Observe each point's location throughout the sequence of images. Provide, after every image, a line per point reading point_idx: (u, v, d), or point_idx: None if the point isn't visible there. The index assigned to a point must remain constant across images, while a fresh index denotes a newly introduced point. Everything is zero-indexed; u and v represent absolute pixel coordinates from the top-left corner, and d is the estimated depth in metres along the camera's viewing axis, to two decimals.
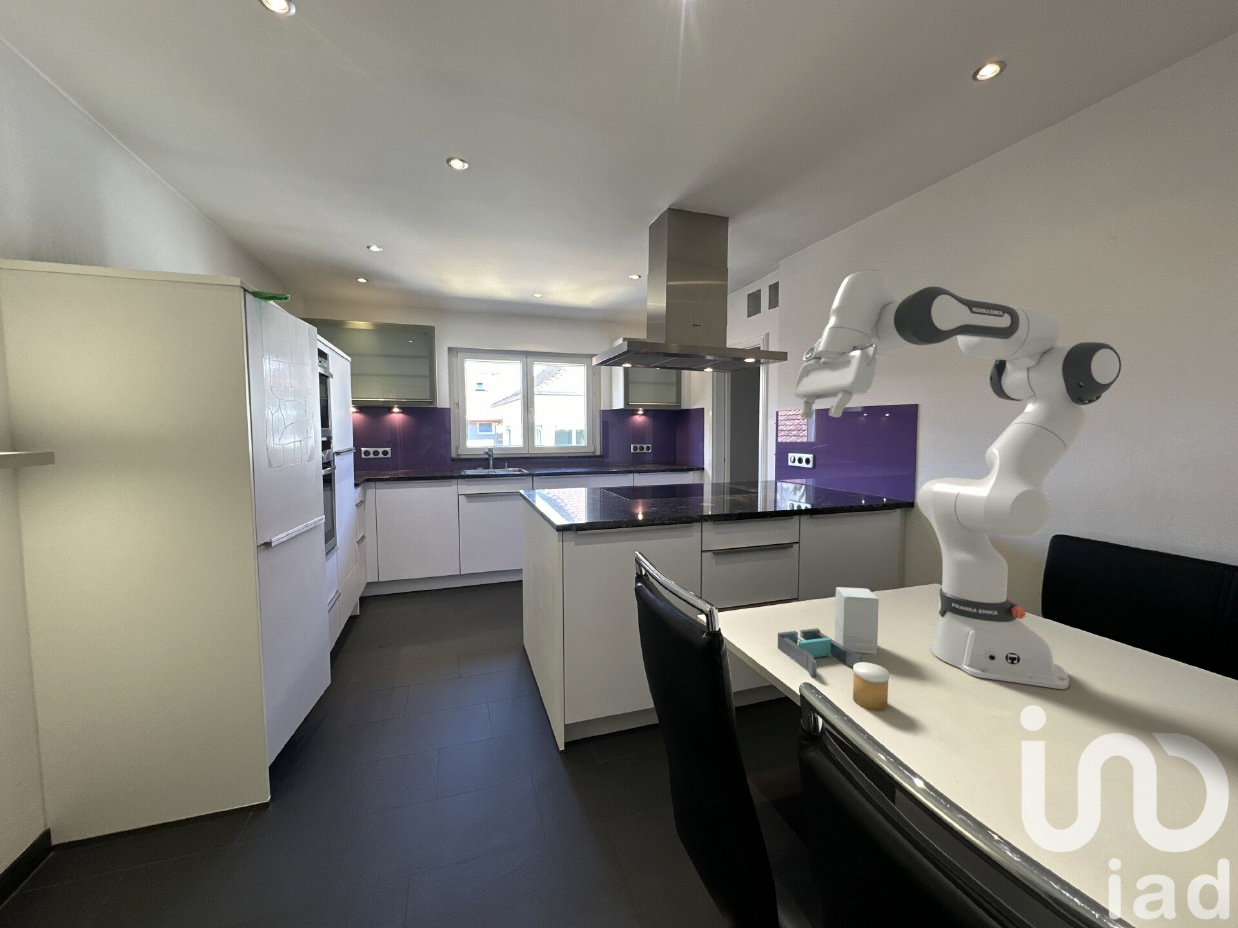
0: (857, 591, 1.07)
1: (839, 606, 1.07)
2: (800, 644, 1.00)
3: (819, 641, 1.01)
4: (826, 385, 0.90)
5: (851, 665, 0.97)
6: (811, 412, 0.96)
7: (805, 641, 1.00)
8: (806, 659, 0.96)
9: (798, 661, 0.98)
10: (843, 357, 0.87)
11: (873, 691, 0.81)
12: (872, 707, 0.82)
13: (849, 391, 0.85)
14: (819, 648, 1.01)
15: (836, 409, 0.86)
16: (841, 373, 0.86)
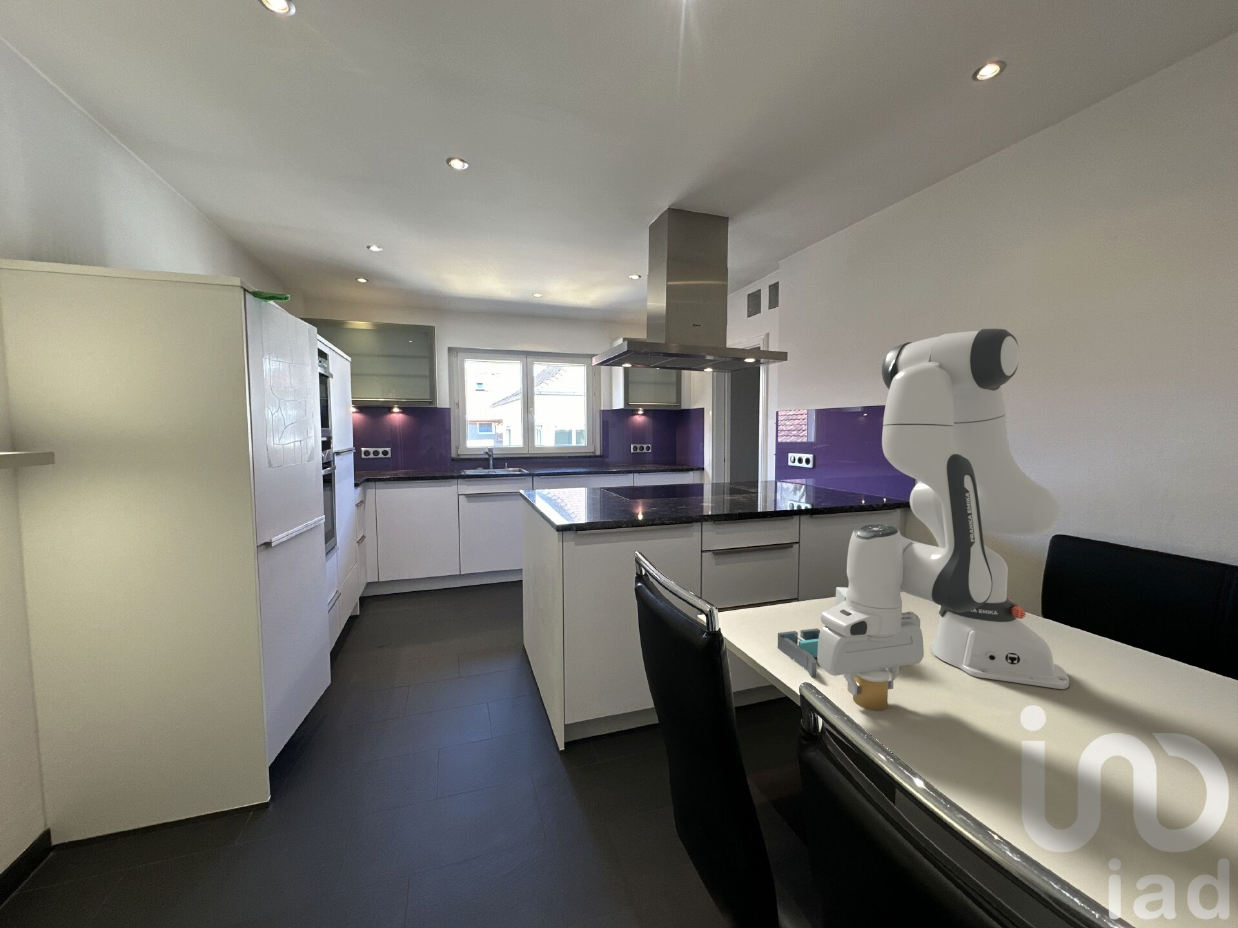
0: None
1: None
2: (800, 644, 1.00)
3: None
4: (887, 662, 0.82)
5: None
6: None
7: (805, 641, 1.00)
8: (806, 659, 0.96)
9: (798, 661, 0.98)
10: (900, 632, 0.83)
11: (873, 691, 0.81)
12: (872, 707, 0.82)
13: None
14: None
15: None
16: (904, 650, 0.83)
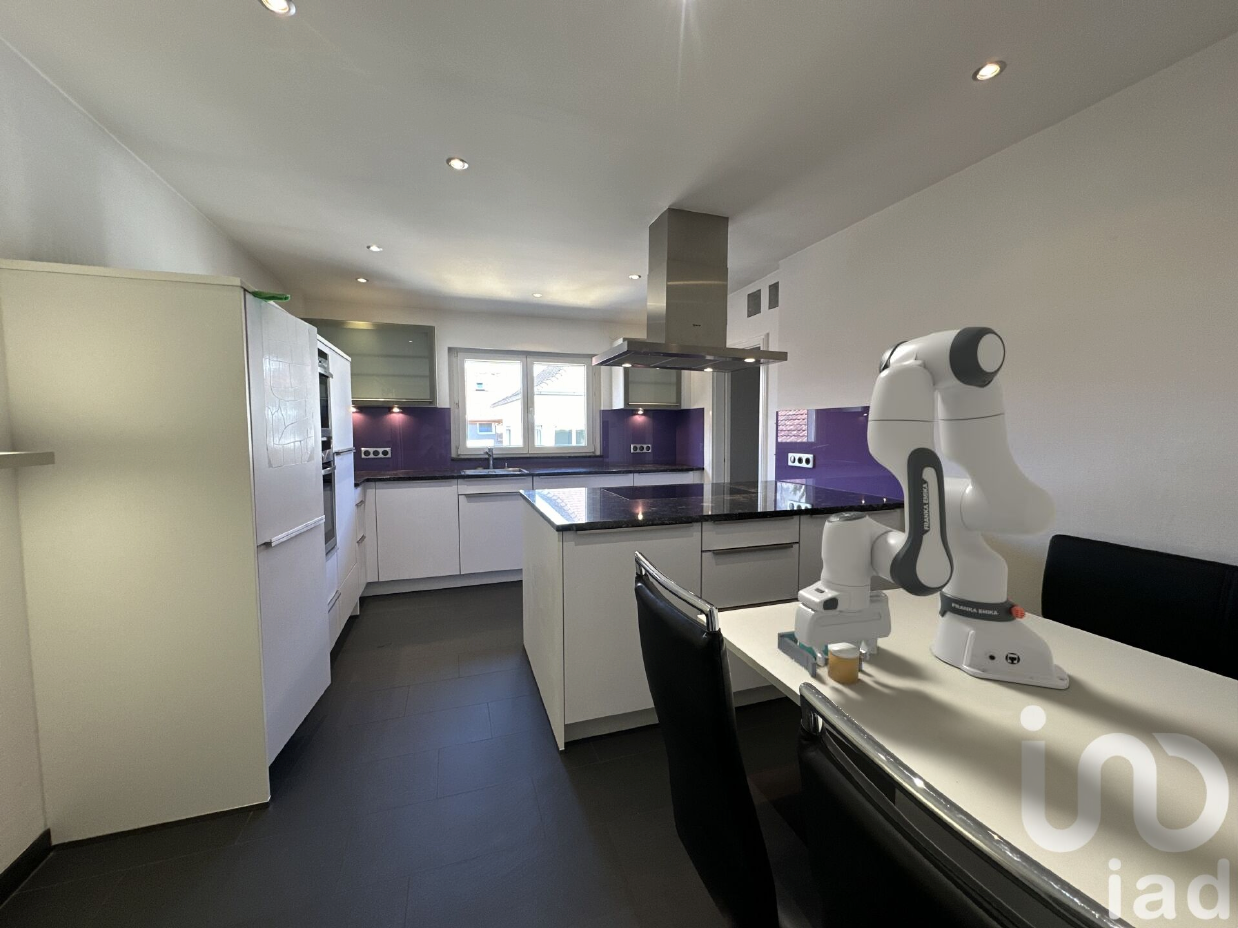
0: None
1: None
2: (800, 644, 1.00)
3: None
4: (857, 635, 0.91)
5: None
6: None
7: None
8: (806, 659, 0.96)
9: (798, 661, 0.98)
10: (869, 608, 0.92)
11: (844, 666, 0.90)
12: (844, 681, 0.90)
13: None
14: None
15: None
16: (873, 624, 0.92)
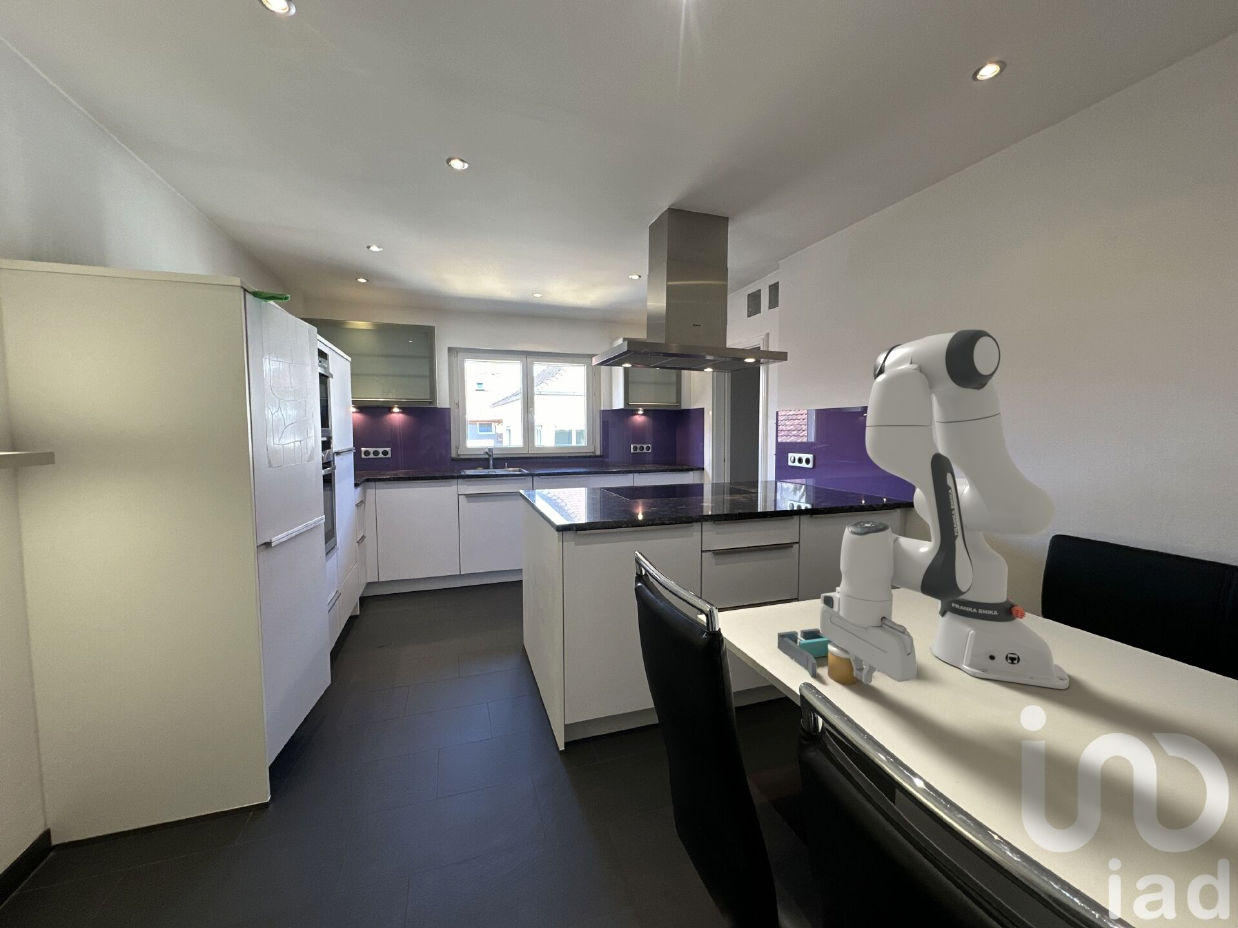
0: None
1: None
2: (800, 644, 1.00)
3: (819, 641, 1.01)
4: (862, 655, 0.85)
5: None
6: None
7: (805, 641, 1.00)
8: (806, 659, 0.96)
9: (798, 661, 0.98)
10: (874, 632, 0.83)
11: (844, 666, 0.90)
12: (844, 681, 0.90)
13: None
14: (819, 648, 1.01)
15: (866, 677, 0.86)
16: (878, 654, 0.82)
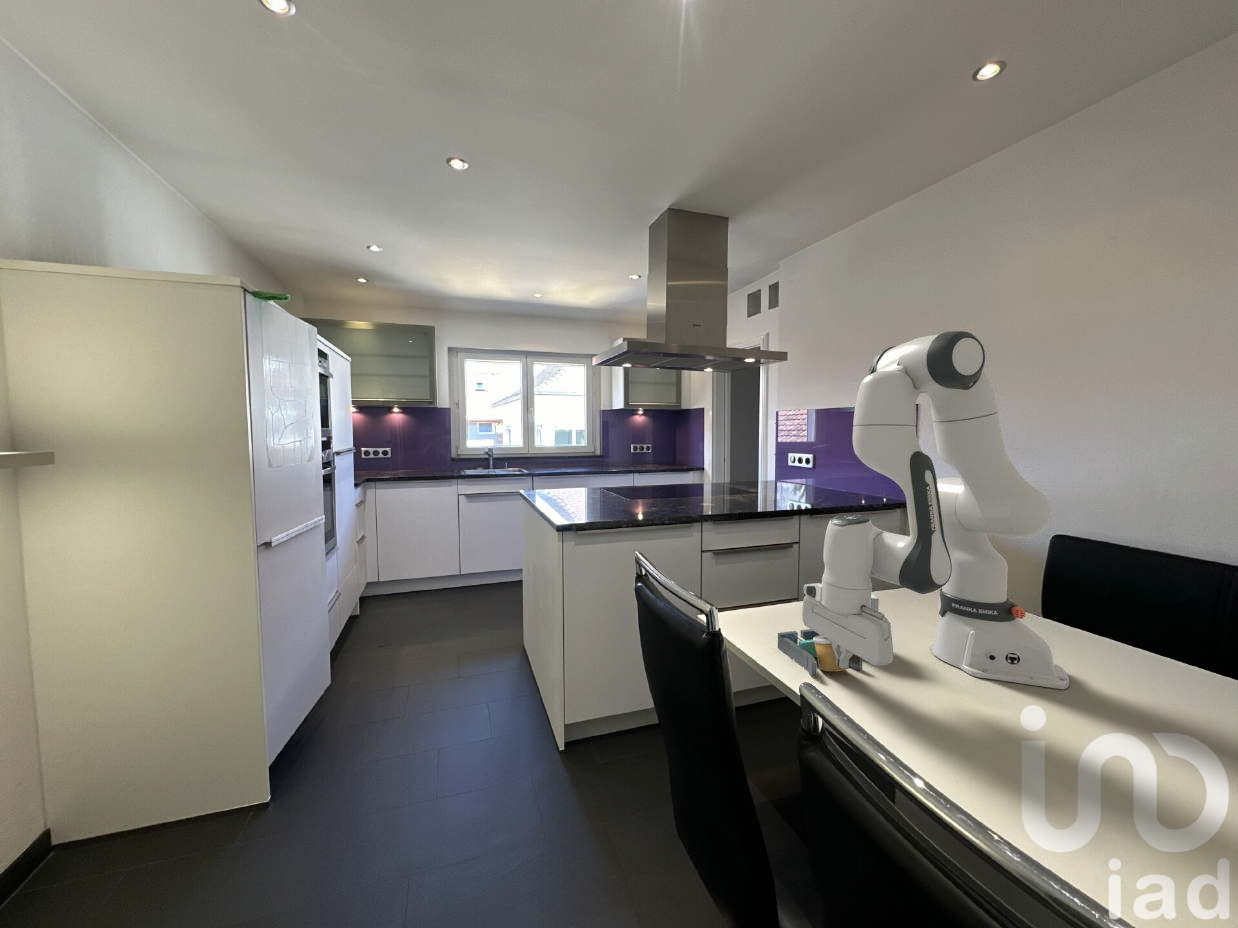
0: None
1: None
2: (800, 644, 1.00)
3: None
4: (842, 642, 0.89)
5: (851, 665, 0.97)
6: (846, 661, 0.91)
7: (805, 641, 1.00)
8: (806, 659, 0.96)
9: (798, 661, 0.98)
10: (854, 619, 0.87)
11: (829, 652, 0.93)
12: (832, 668, 0.93)
13: None
14: None
15: (843, 662, 0.91)
16: (857, 640, 0.86)
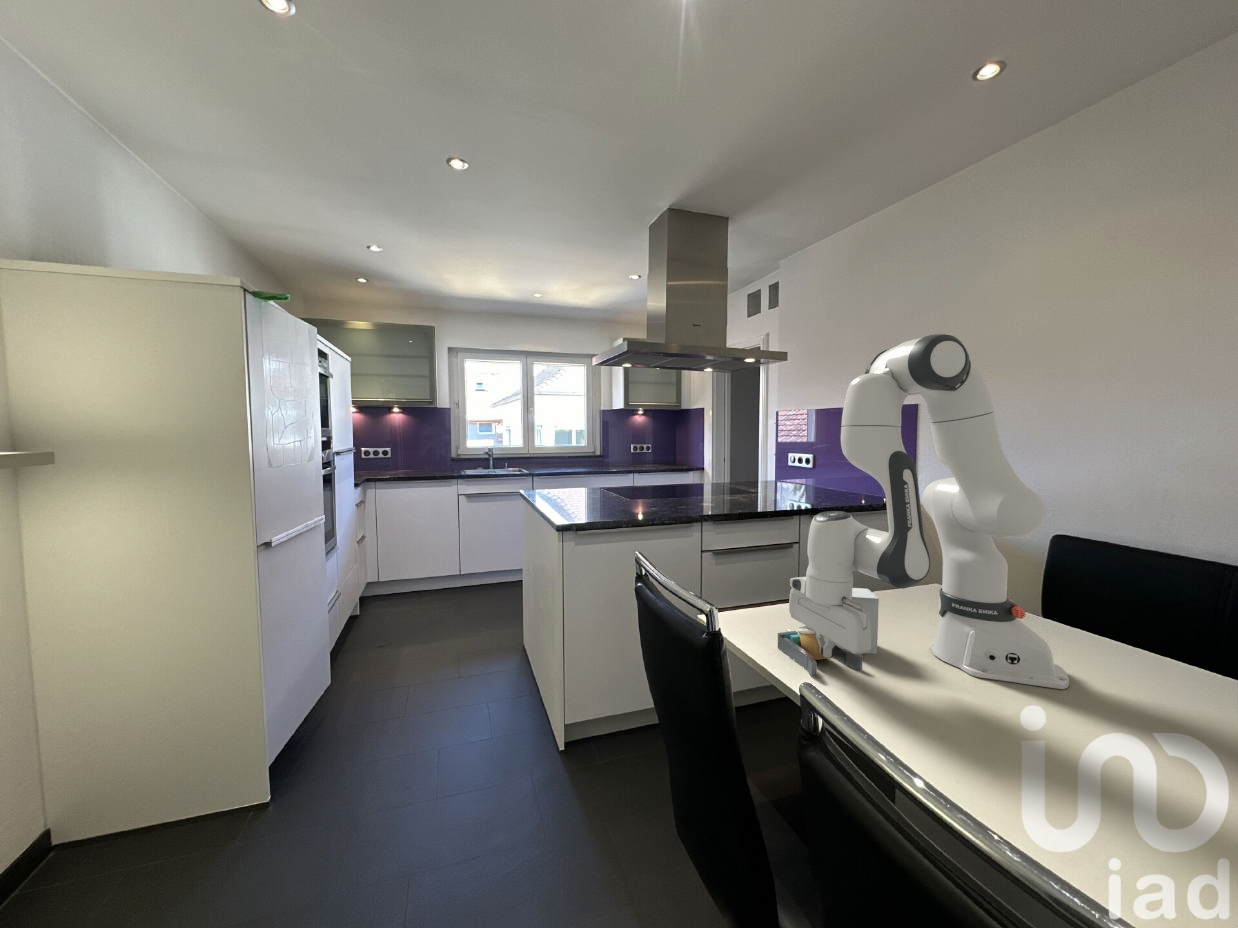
0: (857, 591, 1.07)
1: None
2: (791, 638, 1.03)
3: None
4: (825, 632, 0.94)
5: (851, 665, 0.97)
6: (829, 650, 0.96)
7: (796, 635, 1.03)
8: (806, 659, 0.96)
9: (798, 661, 0.98)
10: (835, 611, 0.92)
11: (813, 642, 0.98)
12: (816, 656, 0.98)
13: None
14: None
15: (826, 651, 0.96)
16: (838, 630, 0.91)
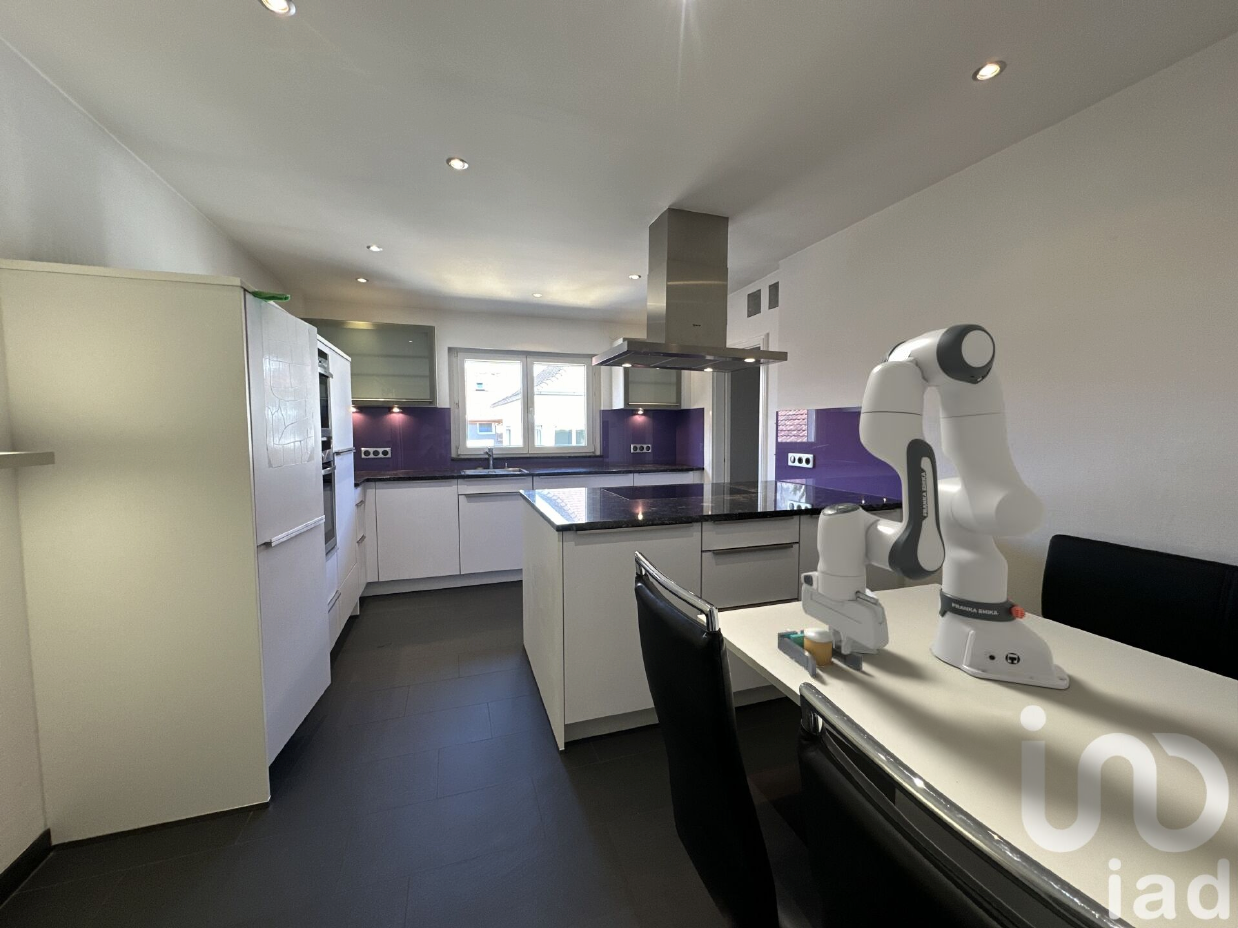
0: None
1: None
2: (791, 638, 1.03)
3: None
4: (840, 627, 0.92)
5: (851, 665, 0.97)
6: None
7: (796, 635, 1.04)
8: (806, 659, 0.96)
9: (798, 661, 0.98)
10: (849, 605, 0.89)
11: (818, 650, 0.97)
12: (818, 663, 0.97)
13: None
14: None
15: (845, 648, 0.93)
16: (854, 625, 0.89)
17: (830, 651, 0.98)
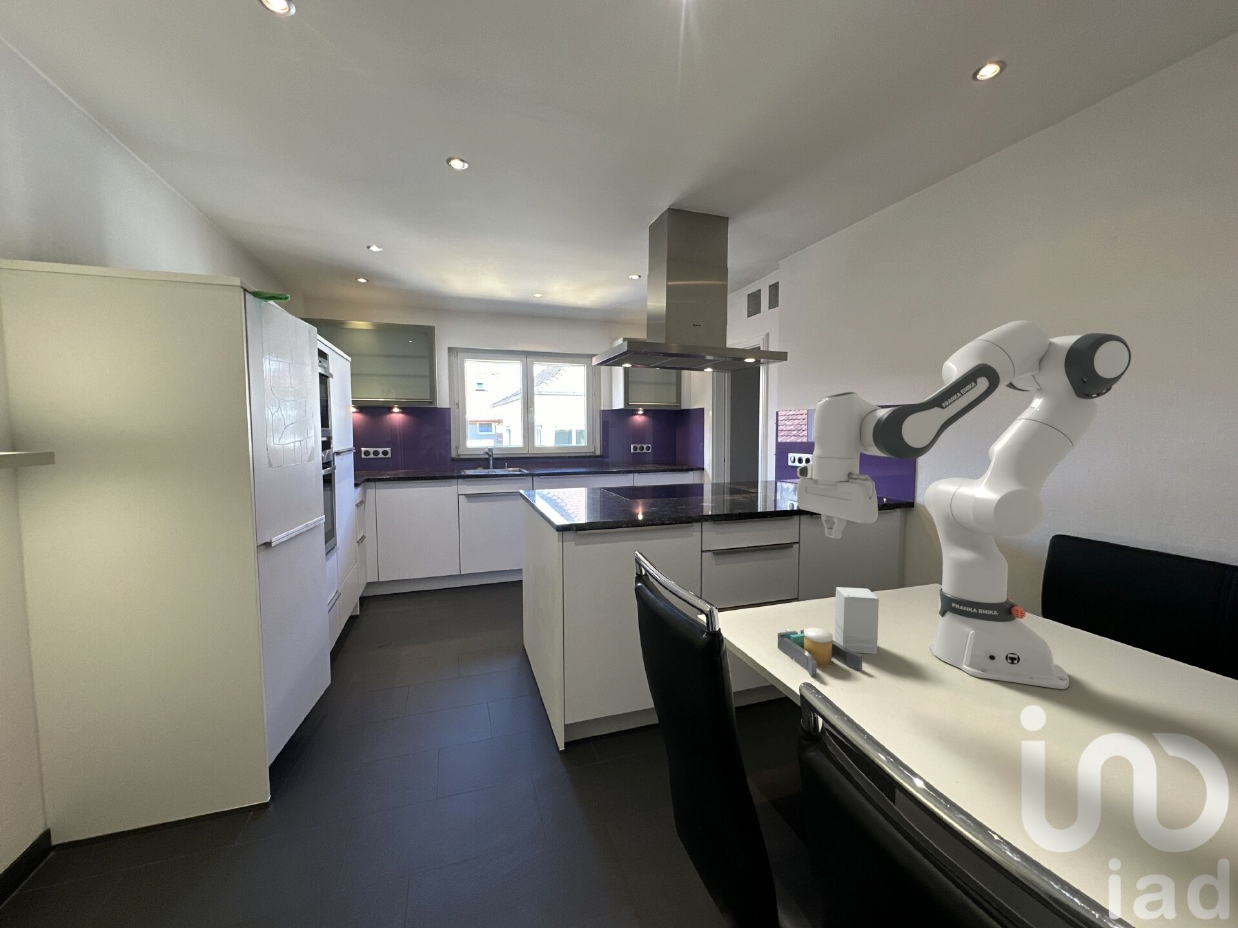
0: (857, 591, 1.07)
1: (839, 606, 1.07)
2: (791, 638, 1.03)
3: None
4: (832, 511, 0.95)
5: (851, 665, 0.97)
6: None
7: (796, 635, 1.04)
8: (806, 659, 0.96)
9: (798, 661, 0.98)
10: (841, 486, 0.92)
11: (818, 650, 0.97)
12: (818, 663, 0.97)
13: None
14: None
15: (836, 533, 0.95)
16: (845, 504, 0.91)
17: (830, 651, 0.98)
